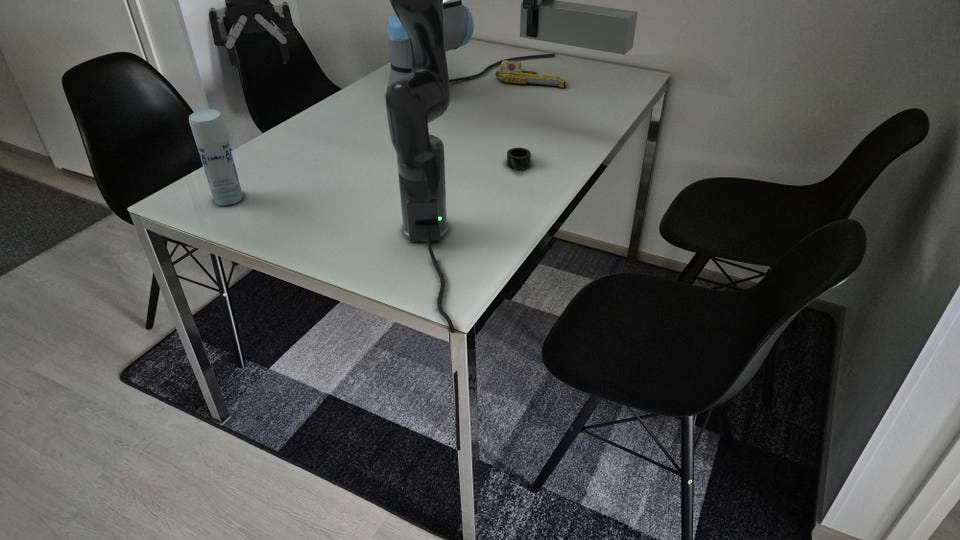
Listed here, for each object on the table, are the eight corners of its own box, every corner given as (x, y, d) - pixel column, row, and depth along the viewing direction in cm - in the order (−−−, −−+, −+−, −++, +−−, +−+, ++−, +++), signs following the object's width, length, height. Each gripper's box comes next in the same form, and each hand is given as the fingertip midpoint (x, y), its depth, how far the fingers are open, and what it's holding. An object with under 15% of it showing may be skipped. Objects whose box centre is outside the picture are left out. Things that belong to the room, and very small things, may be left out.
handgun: (569, 72, 204) (565, 89, 193) (500, 66, 208) (492, 82, 196) (570, 65, 203) (566, 81, 191) (501, 58, 206) (492, 74, 195)
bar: (632, 47, 151) (637, 11, 146) (624, 54, 147) (629, 18, 142) (530, 30, 162) (531, -4, 157) (519, 37, 158) (520, 2, 153)
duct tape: (494, 167, 154) (494, 156, 152) (516, 151, 160) (516, 141, 158) (520, 176, 150) (521, 165, 148) (542, 160, 156) (543, 149, 155)
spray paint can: (212, 194, 144) (187, 111, 131) (242, 188, 145) (220, 107, 133) (214, 208, 139) (188, 124, 127) (244, 202, 141) (222, 119, 128)
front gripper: (282, -37, 112) (298, 54, 122) (198, -31, 109) (221, 62, 119) (285, -27, 106) (301, 67, 116) (195, -21, 103) (221, 76, 113)
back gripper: (545, -78, 152) (540, 20, 167) (509, -65, 139) (506, 41, 154) (574, -75, 149) (566, 25, 164) (539, -62, 136) (534, 46, 151)
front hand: (261, 64), depth 117 cm, fingers open, 8 cm apart
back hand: (537, 32), depth 159 cm, fingers closed on bar, 6 cm apart
